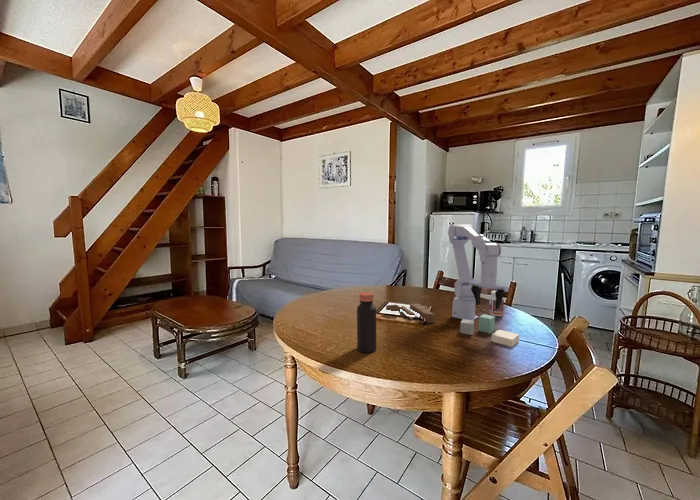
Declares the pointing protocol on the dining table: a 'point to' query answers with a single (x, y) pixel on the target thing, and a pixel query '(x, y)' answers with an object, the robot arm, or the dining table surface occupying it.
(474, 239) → the robot arm
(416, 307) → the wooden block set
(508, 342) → the cream slab
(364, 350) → the vinegar
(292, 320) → the dining table surface
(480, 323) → the teal block
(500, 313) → the pill bottle
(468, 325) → the grey block
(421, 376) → the dining table surface
